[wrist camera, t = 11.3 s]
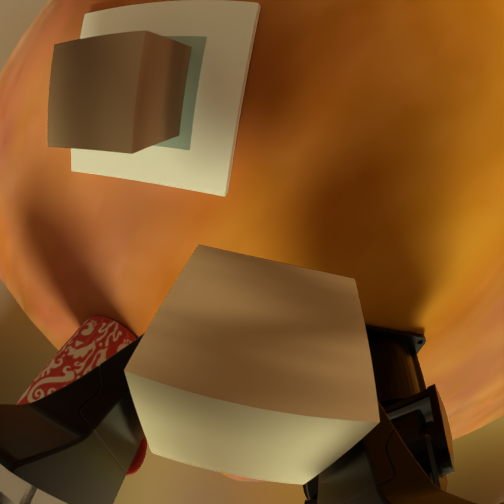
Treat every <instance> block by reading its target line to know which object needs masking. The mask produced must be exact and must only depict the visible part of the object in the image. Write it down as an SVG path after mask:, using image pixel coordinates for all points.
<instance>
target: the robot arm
mask: <svg viewBox="0 0 504 504" xmlns="http://www.w3.org/2000/svg"><path fill="white" fill-rule="evenodd" d="M365 327H366V333H367V338H368V343H369V349H370V355H371V361H372V367H373V373H374V380H375V386H376V394H377V401H378V409H379V418H380V422H379V423H378V424H377V425H376V426H375V427H374V428H373V429H372V430H371V431H370V432H369V433H368V434H367V435H365V436H364V437H363V438H362V439H361V440H360V441H359V442H358V443H356V444H355V445H354V446H353V447H352V448H351V449H349V450H348V451H347V452H346V453H345V454H344V455H342V456H341V457H340V458H339V459H337V460H336V461H335V462H334V463H332V464H331V465H330V466H328V467H327V468H326V469H325V470H323V471H322V472H321V473H319V474H318V475H316V476H315V477H314V478H312V479H311V480H310V481H308V482H307V483H305V484H304V485H303V488H304V493H305V495H306V497H307V499H308V500H305V504H477V503H474V502H471V501H468V500H466V499H463V498H460V497H458V496H455V495H453V494H450V493H448V492H447V485H448V480H447V474H450V473H452V472H455V464H454V454H453V445H452V436H451V431H450V427H449V423H448V419H447V415H446V411H445V408H444V405H443V403H442V400H441V398H440V395H439V393H438V391H437V388H436V386H435V384H433V385H431V386H429V387H427V388H428V389H426V386H425V382H424V378H423V375H422V371H421V368H420V364H419V361H418V357H417V353H418V352H419V351H420V349H421V348H422V346H423V345H424V344H425V342H426V339H425V336H424V335H423V334H417V333H411V332H405V331H398V330H392V329H386V328H381V327H375V326H369V325H365ZM144 334H145V333H144ZM144 334H143V335H144ZM143 335H141V336H140V337H138V338H137V339H136V340H134V341H133V342H131V343H130V344H128V345H127V346H125V347H124V348H123V349H121V350H120V351H118V352H117V353H115V354H114V355H112V356H111V357H110V358H108V359H107V360H105V361H104V362H102V363H101V364H100V365H99V366H96V367H95V368H94V369H92V370H91V371H89V372H88V373H86V374H85V375H83V376H81V377H80V378H78V379H77V380H75V381H73V382H71V383H69V384H68V385H66V386H64V387H62V388H60V389H58V390H56V391H54V392H52V393H50V394H48V395H47V396H45V397H43V398H41V399H39V400H36V401H34V402H31V403H27V404H0V504H113V503H114V500H115V498H116V496H117V493H118V491H119V489H120V487H121V484H122V482H123V480H124V478H125V476H126V473H127V471H128V469H129V467H130V464H131V462H132V460H133V458H134V456H135V453H136V451H137V449H138V447H139V445H140V443H141V440H142V438H143V436H144V431H143V428H142V426H141V423H140V420H139V417H138V414H137V411H136V408H135V405H134V402H133V399H132V396H131V393H130V389H129V386H128V383H127V379H126V376H125V372H124V369H125V367H126V366H127V364H128V362H129V360H130V358H131V357H132V355H133V353H134V351H135V349H136V348H137V346H138V344H139V342H140V341H141V339H142V337H143ZM419 340H420V341H419ZM500 504H504V502H502V503H500Z"/></svg>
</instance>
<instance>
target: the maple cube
mask: <svg viewBox="0 0 504 504" xmlns="http://www.w3.org/2000/svg"><path fill="white" fill-rule="evenodd" d="M124 372H125V376H126V379H127V383H128V386H129V389H130V393H131V396H132V399H133V402H134V405H135V408H136V411H137V414H138V417H139V420H140V423H141V426H142V428H143V431H144V434H145V436H146V439H147V442H148V444H149V447H150V449H151V452H152V453H154V454H157V455H160V456H163V457H166V458H169V459H172V460H175V461H179V462H182V463H186V464H189V465H192V466H196V467H200V468H204V469H208V470H213V471H216V472H221V473H226V474H230V475H235V476H241V477H246V478H252V479H259V480H265V481H273V482H282V483H291V484H303V485H304V484H305V483H307V482H308V481H310V480H311V479H312V478H314V477H315V476H316V475H318V474H319V473H321V472H322V471H323V470H325V469H326V468H327V467H328V466H330V465H331V464H332V463H334V462H335V461H336V460H337V459H339V458H340V457H341V456H342V455H344V454H345V453H346V452H347V451H348V450H349V449H351V448H352V447H353V446H354V445H355V444H356V443H358V442H359V441H360V440H361V439H362V438H363V437H364V436H365V435H367V434H368V433H369V432H370V431H371V430H372V429H373V428H374V427H375V426H376V425H377V424H378V423H379V422H380V418H379V409H378V401H377V394H376V386H375V380H374V373H373V367H372V361H371V355H370V349H369V343H368V338H367V333H366V327H365V322H364V317H363V313H362V308H361V303H360V299H359V294H358V290H357V285H356V281H355V279H354V278H349V277H345V276H340V275H335V274H331V273H326V272H322V271H317V270H312V269H308V268H303V267H299V266H294V265H290V264H285V263H281V262H276V261H271V260H267V259H262V258H258V257H253V256H249V255H244V254H240V253H235V252H231V251H226V250H222V249H217V248H213V247H208V246H204V245H198V247H197V248H196V250H195V251H194V253H193V254H192V256H191V258H190V259H189V261H188V262H187V264H186V266H185V267H184V269H183V270H182V272H181V274H180V275H179V277H178V278H177V280H176V282H175V283H174V285H173V287H172V288H171V290H170V292H169V293H168V295H167V296H166V298H165V300H164V301H163V303H162V305H161V306H160V308H159V310H158V312H157V313H156V315H155V317H154V318H153V320H152V322H151V323H150V325H149V327H148V329H147V330H146V332H145V334H144V335H143V337H142V339H141V341H140V342H139V344H138V346H137V348H136V349H135V351H134V353H133V355H132V357H131V358H130V360H129V362H128V364H127V366H126V367H125V369H124Z"/></svg>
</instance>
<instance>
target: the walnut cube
mask: <svg viewBox="0 0 504 504" xmlns="http://www.w3.org/2000/svg"><path fill="white" fill-rule="evenodd" d="M191 50H192V47H190V46H188V45H185V44H183V43H180V42H178V41H175V40H172V39H170V38H167V37H164V36H161V35H159V34H156V33H153V32H150V31H147V30H144V31H132V32H123V33H114V34H107V35H100V36H94V37H88V38H83V39H78V40H73V41H68V42H64V43H60V44H55V45H54V52H53V59H52V67H51V76H50V87H49V102H48V147H59V148H74V149H87V150H98V151H109V152H118V153H127V154H133V153H136V152H138V151H140V150H143V149H145V148H148V147H150V146H153V145H155V144H158V143H161V142H163V141H166V140H169V139H171V138H174V137H177V136H179V134H180V125H181V116H182V109H183V101H184V94H185V87H186V80H187V74H188V68H189V62H190V56H191Z"/></svg>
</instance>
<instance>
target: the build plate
mask: <svg viewBox="0 0 504 504" xmlns="http://www.w3.org/2000/svg"><path fill="white" fill-rule="evenodd" d="M260 9H261V6H260V4H259V3H256V2H245V1H228V0H180V1H164V2H152V3H143V4H135V5H128V6H122V7H116V8H110V9H105V10H100V11H95V12H91V13H86V14H85V15H84V20H83V25H82V30H81V35H80V39H83V38H88V37H94V36H100V35H107V34H114V33H123V32H132V31H144V30H147V31H150V32H153V33H156V34H159V35H161V36H164V37H167V38H170V39H172V40H175V41H178V42H180V43H183V44H185V45H188V46H190V47H192V50H191V56H190V62H189V68H188V74H187V80H186V87H185V94H184V101H183V109H182V116H181V125H180V134H179V136H177V137H174V138H171V139H169V140H166V141H163V142H161V143H158V144H155V145H153V146H150V147H148V148H145V149H143V150H140V151H138V152H136V153H133V154H127V153H118V152H109V151H98V150H87V149H74V148H71V167H72V171H75V172H83V173H90V174H97V175H104V176H111V177H117V178H124V179H130V180H136V181H142V182H148V183H154V184H160V185H166V186H171V187H177V188H182V189H188V190H193V191H198V192H204V193H209V194H214V195H219V196H224V197H225V196H226V194H227V193H228V190H229V183H230V176H231V170H232V163H233V157H234V151H235V144H236V138H237V132H238V126H239V120H240V114H241V108H242V103H243V97H244V91H245V86H246V80H247V75H248V69H249V64H250V59H251V54H252V48H253V43H254V38H255V33H256V28H257V23H258V18H259V13H260Z"/></svg>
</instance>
